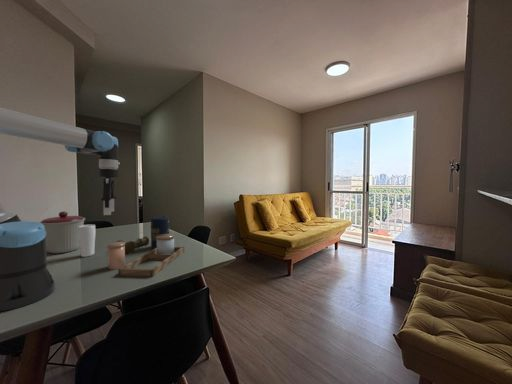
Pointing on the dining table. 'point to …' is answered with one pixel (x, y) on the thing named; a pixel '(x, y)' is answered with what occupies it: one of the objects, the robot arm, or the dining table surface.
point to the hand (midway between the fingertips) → (109, 213)
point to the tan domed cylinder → (116, 255)
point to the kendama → (131, 245)
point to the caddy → (150, 255)
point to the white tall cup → (86, 239)
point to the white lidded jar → (165, 243)
